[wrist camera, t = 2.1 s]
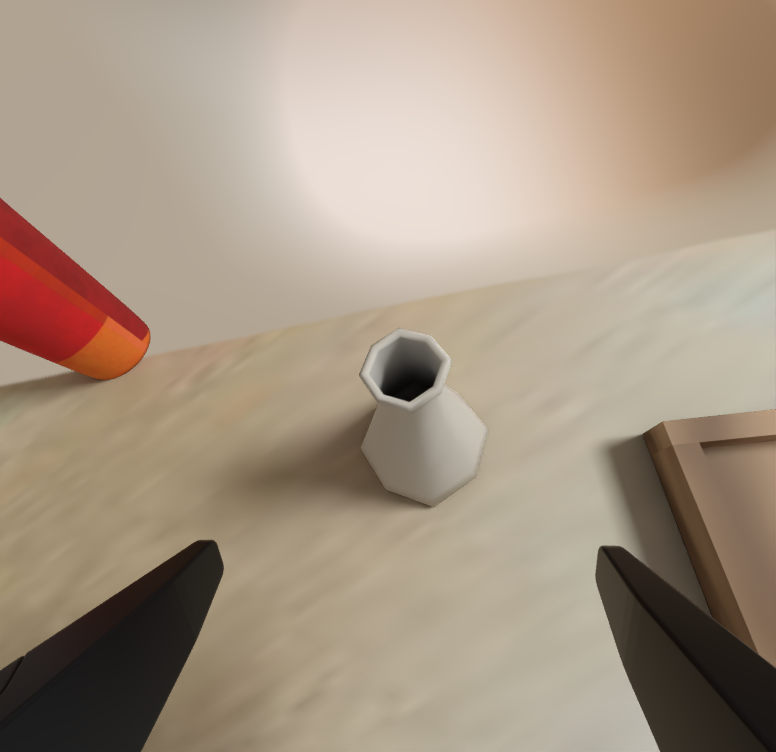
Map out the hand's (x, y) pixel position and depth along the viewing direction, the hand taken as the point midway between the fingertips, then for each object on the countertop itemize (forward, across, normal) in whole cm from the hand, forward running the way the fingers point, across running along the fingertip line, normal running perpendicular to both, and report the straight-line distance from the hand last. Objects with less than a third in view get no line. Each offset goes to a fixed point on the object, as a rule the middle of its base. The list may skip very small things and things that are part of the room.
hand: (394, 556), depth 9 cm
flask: (+13, 0, +5) cm, 14 cm away
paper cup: (+19, +24, -1) cm, 30 cm away
